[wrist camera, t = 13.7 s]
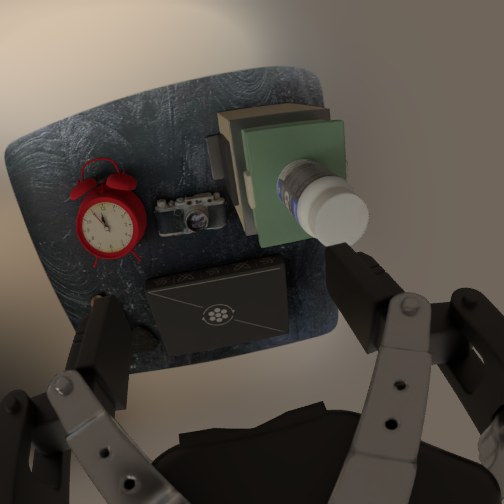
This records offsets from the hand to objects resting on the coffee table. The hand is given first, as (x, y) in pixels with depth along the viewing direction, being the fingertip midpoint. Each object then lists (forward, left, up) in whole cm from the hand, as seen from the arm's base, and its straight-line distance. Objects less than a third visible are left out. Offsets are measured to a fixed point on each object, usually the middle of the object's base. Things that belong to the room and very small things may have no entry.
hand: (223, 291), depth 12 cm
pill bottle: (+2, +8, -16) cm, 18 cm away
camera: (+9, -3, -34) cm, 36 cm away
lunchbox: (+2, +8, -21) cm, 22 cm away
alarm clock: (+6, -14, -34) cm, 38 cm away
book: (+26, -1, -34) cm, 43 cm away
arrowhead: (+30, -14, -34) cm, 47 cm away
